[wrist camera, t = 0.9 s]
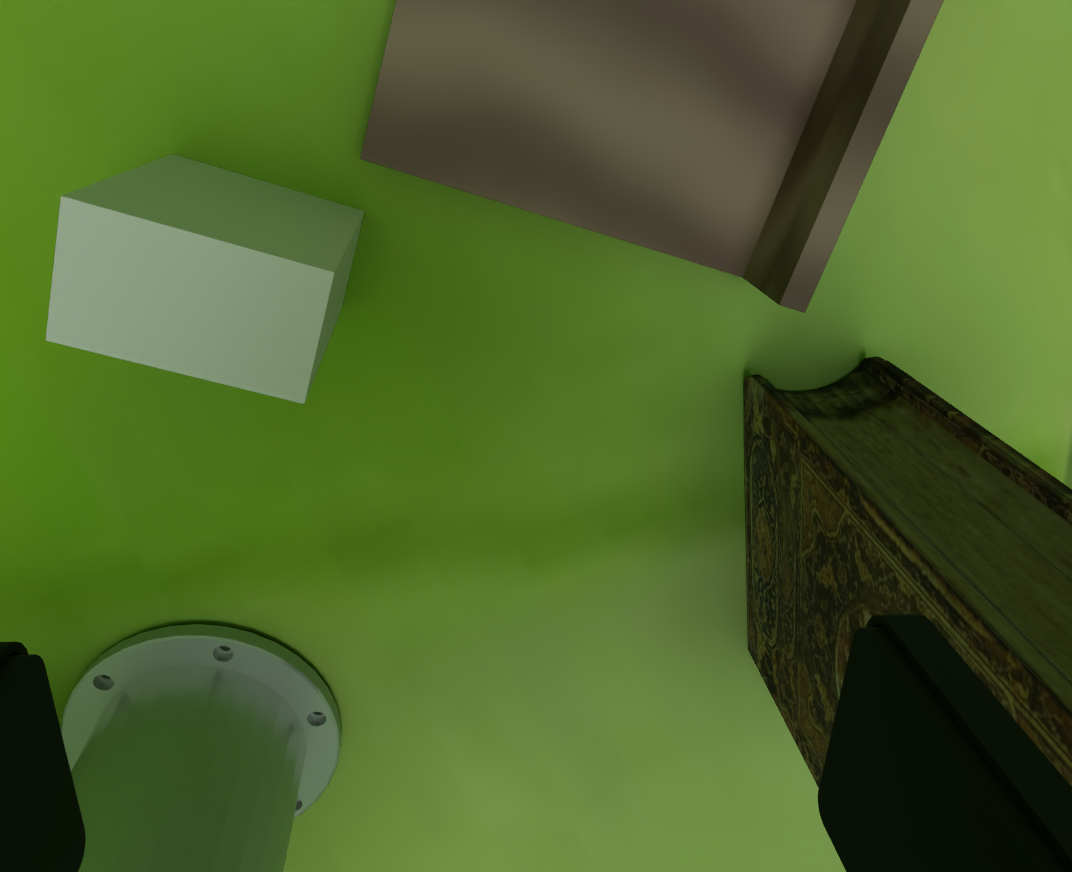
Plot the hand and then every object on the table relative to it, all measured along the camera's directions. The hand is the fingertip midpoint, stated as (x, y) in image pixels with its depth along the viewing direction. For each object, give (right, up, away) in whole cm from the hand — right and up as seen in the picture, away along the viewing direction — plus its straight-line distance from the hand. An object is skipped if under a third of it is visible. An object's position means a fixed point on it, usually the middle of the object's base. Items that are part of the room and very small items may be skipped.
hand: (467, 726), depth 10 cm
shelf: (+4, +18, +21) cm, 28 cm away
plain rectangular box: (-10, +11, +22) cm, 27 cm away
